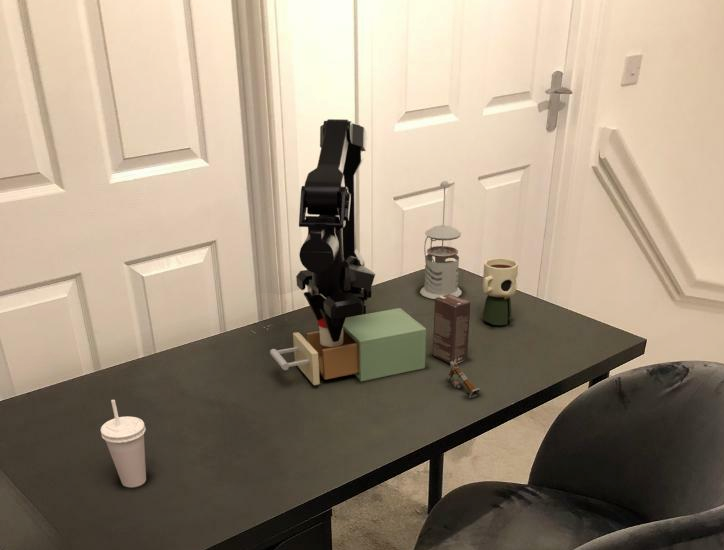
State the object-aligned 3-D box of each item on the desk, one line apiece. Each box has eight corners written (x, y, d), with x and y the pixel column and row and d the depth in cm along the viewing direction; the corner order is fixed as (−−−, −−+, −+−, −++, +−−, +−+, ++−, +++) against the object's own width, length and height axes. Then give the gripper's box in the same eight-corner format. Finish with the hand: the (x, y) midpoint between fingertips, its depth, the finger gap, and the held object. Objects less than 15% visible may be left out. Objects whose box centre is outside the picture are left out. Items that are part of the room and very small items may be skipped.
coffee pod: (313, 343, 154) (312, 322, 152) (331, 334, 157) (330, 314, 155) (332, 350, 151) (331, 329, 149) (350, 341, 155) (349, 321, 152)
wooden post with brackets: (448, 374, 155) (456, 357, 151) (472, 404, 152) (480, 388, 148) (441, 376, 154) (448, 360, 150) (465, 407, 151) (473, 390, 147)
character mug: (495, 334, 173) (499, 273, 165) (468, 325, 177) (471, 265, 169) (524, 318, 179) (530, 260, 172) (498, 310, 183) (502, 252, 176)
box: (468, 359, 162) (471, 301, 156) (451, 366, 160) (454, 307, 153) (447, 349, 166) (450, 292, 159) (431, 355, 164) (432, 298, 157)
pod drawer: (286, 391, 150) (283, 359, 146) (268, 368, 158) (266, 337, 154) (375, 372, 156) (375, 341, 152) (354, 351, 164) (353, 321, 160)
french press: (433, 302, 187) (436, 188, 173) (408, 286, 196) (410, 177, 182) (469, 295, 191) (476, 183, 177) (444, 279, 200) (448, 171, 185)
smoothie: (116, 470, 130) (98, 391, 122) (158, 468, 130) (142, 389, 122) (109, 493, 124) (89, 411, 116) (152, 491, 125) (135, 409, 117)
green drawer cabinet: (360, 381, 155) (360, 341, 150) (338, 357, 163) (336, 319, 159) (425, 368, 159) (426, 329, 155) (399, 345, 168) (399, 307, 163)
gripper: (390, 263, 140) (390, 347, 149) (348, 233, 154) (351, 312, 163) (330, 272, 137) (334, 358, 146) (292, 241, 151) (298, 321, 160)
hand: (330, 336), depth 154 cm, fingers closed on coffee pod, 5 cm apart
